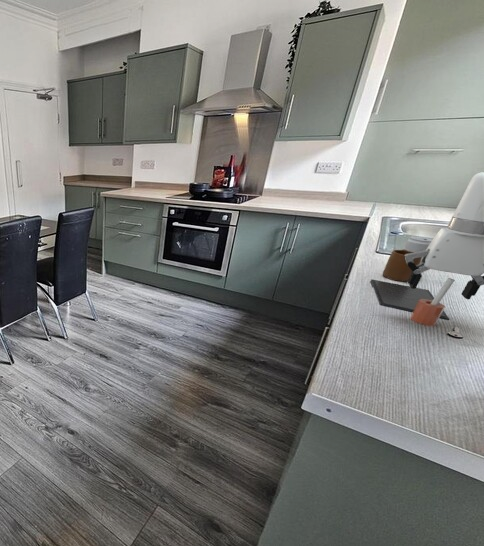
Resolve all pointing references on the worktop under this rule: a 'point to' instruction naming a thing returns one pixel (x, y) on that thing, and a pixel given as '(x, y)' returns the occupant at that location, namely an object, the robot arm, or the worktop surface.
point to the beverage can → (417, 244)
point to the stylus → (442, 291)
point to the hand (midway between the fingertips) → (437, 291)
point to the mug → (399, 266)
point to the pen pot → (427, 312)
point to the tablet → (401, 296)
